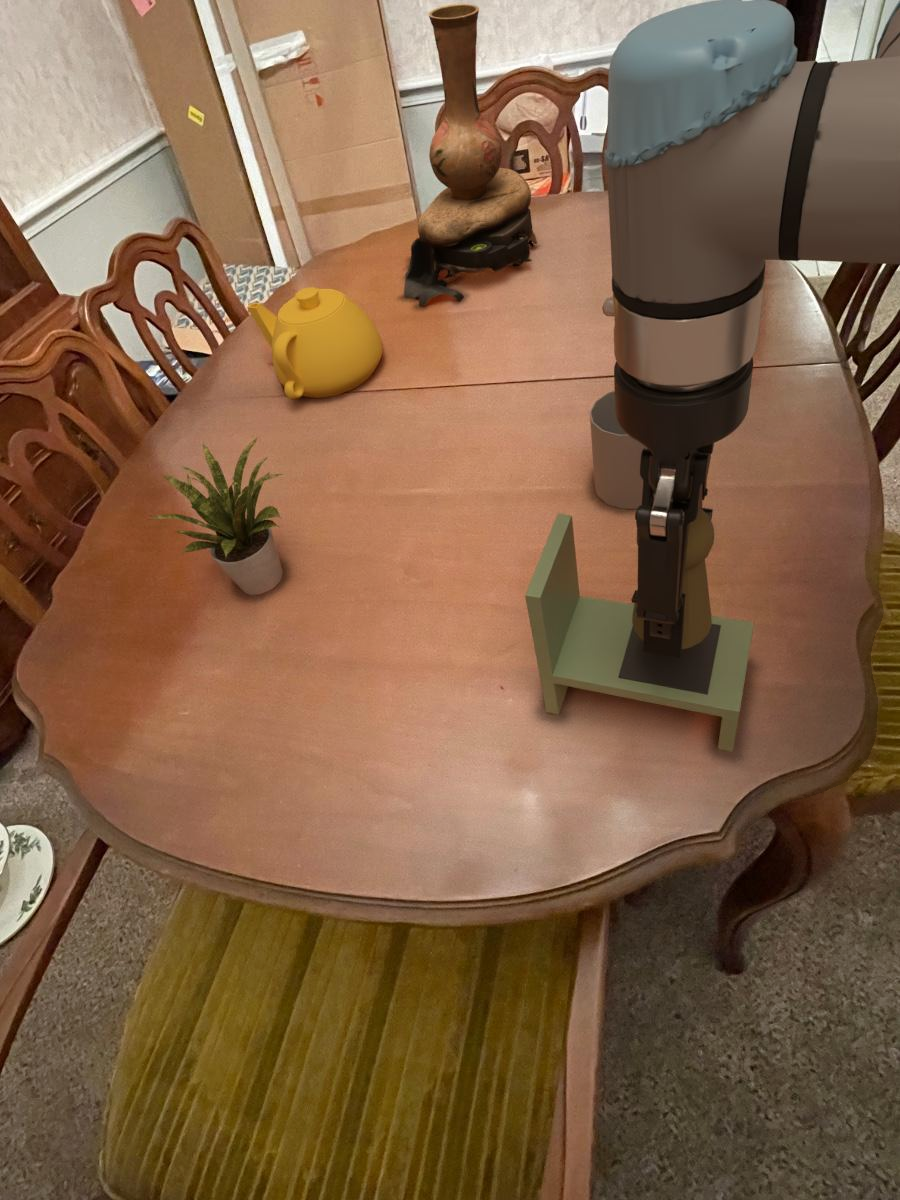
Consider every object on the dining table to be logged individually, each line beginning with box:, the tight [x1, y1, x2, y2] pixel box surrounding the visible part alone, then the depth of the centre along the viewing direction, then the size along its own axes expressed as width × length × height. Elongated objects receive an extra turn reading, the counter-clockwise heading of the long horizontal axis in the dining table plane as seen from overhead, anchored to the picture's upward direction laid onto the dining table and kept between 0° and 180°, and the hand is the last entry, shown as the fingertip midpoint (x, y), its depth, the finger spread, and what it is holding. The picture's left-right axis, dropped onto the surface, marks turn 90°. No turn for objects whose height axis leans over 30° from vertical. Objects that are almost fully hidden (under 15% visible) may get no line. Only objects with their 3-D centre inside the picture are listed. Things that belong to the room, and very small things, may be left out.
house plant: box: [147, 435, 285, 596], centre depth 81 cm, size 14×14×16 cm
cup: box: [589, 390, 655, 510], centre depth 82 cm, size 8×8×10 cm
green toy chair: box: [524, 513, 755, 753], centre depth 62 cm, size 16×9×16 cm, turn 69°
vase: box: [403, 3, 538, 308], centre depth 116 cm, size 24×22×35 cm
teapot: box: [246, 286, 384, 400], centre depth 110 cm, size 20×19×13 cm
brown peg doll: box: [632, 502, 715, 649], centre depth 55 cm, size 6×6×11 cm
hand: (670, 617), depth 59 cm, fingers closed on brown peg doll, 6 cm apart
